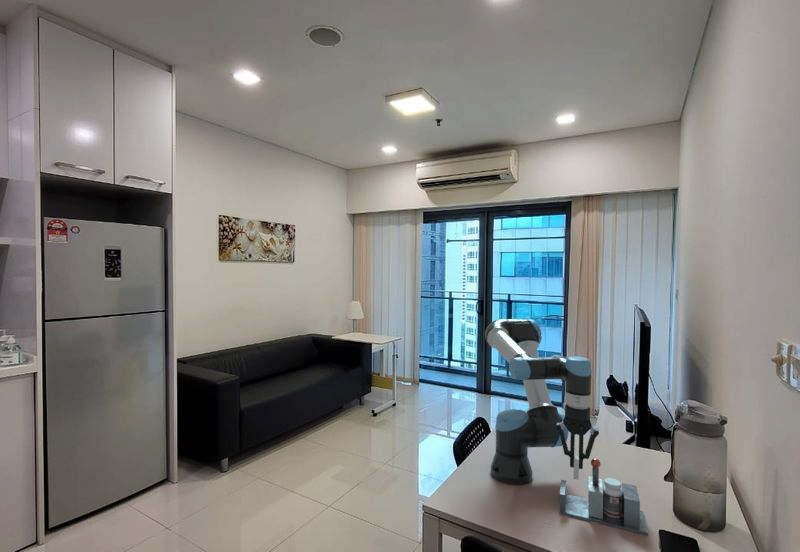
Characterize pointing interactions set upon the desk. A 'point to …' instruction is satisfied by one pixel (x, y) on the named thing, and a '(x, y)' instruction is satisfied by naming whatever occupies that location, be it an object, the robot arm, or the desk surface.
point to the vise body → (628, 521)
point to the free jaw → (595, 492)
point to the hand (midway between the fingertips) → (576, 477)
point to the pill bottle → (612, 498)
